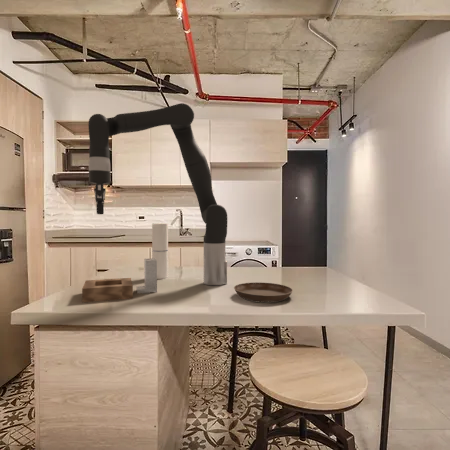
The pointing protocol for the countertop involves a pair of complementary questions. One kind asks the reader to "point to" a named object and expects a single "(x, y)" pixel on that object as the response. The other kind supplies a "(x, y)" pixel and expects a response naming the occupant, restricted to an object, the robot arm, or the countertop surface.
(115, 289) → the well block
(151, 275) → the grey block
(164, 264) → the cylindrical container
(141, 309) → the countertop surface
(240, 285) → the plant saucer
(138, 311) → the countertop surface
